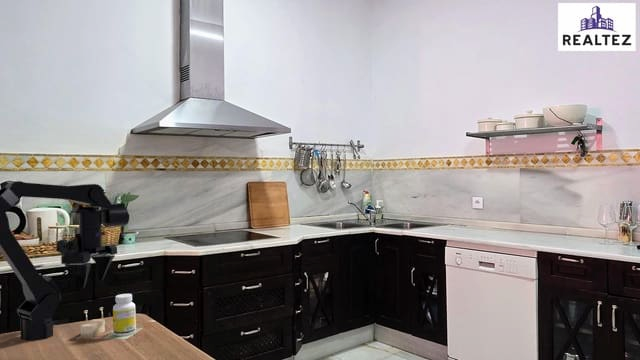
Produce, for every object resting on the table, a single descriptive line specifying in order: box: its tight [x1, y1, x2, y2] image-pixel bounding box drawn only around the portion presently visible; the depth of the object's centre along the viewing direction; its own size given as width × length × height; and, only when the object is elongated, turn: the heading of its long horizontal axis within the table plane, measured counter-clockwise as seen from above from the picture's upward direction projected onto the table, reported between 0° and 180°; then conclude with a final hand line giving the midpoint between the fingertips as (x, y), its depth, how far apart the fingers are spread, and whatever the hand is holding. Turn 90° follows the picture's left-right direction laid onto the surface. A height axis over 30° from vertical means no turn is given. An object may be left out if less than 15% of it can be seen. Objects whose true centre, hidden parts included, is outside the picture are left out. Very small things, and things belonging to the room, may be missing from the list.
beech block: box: [80, 319, 106, 338], centre depth 123 cm, size 6×3×3 cm, turn 176°
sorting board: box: [75, 327, 143, 340], centre depth 124 cm, size 14×10×1 cm
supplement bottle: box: [112, 293, 137, 336], centre depth 124 cm, size 5×5×10 cm
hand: (91, 284), depth 134 cm, fingers open, 9 cm apart
